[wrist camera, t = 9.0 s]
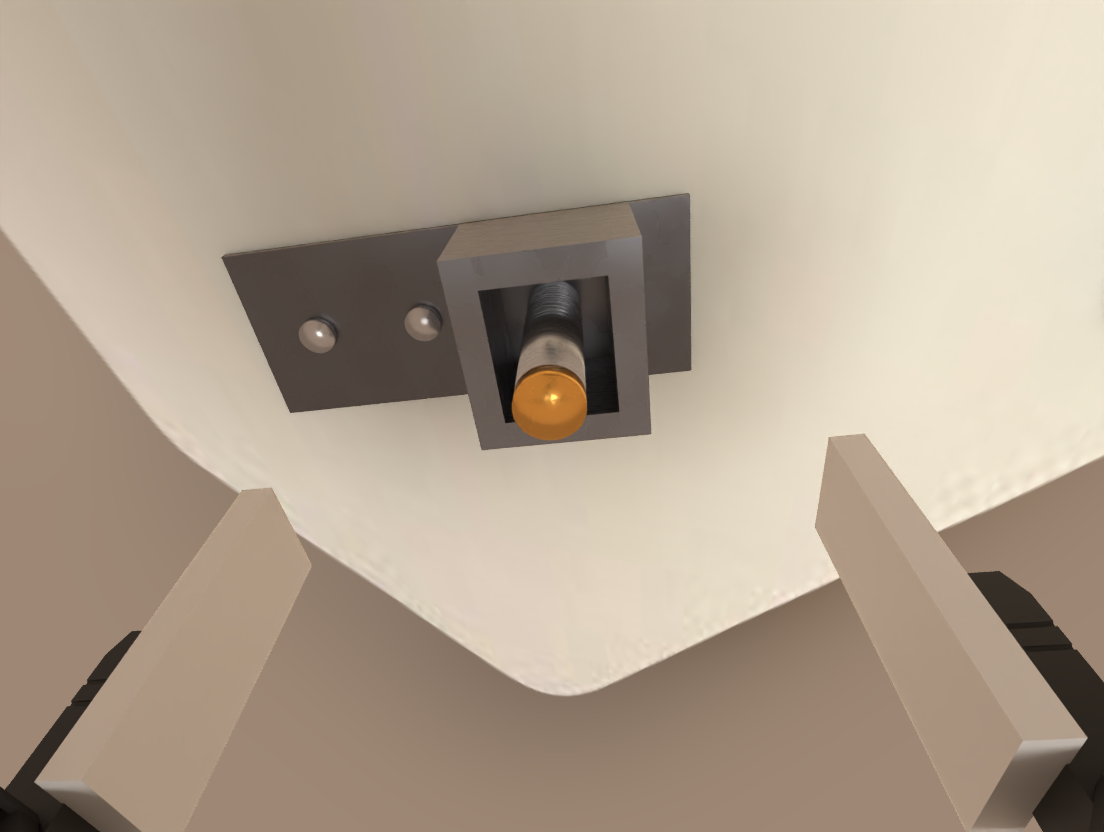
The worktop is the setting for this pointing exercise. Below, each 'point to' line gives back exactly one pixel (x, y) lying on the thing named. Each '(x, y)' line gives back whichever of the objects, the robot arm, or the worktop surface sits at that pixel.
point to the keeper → (425, 327)
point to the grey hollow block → (540, 257)
